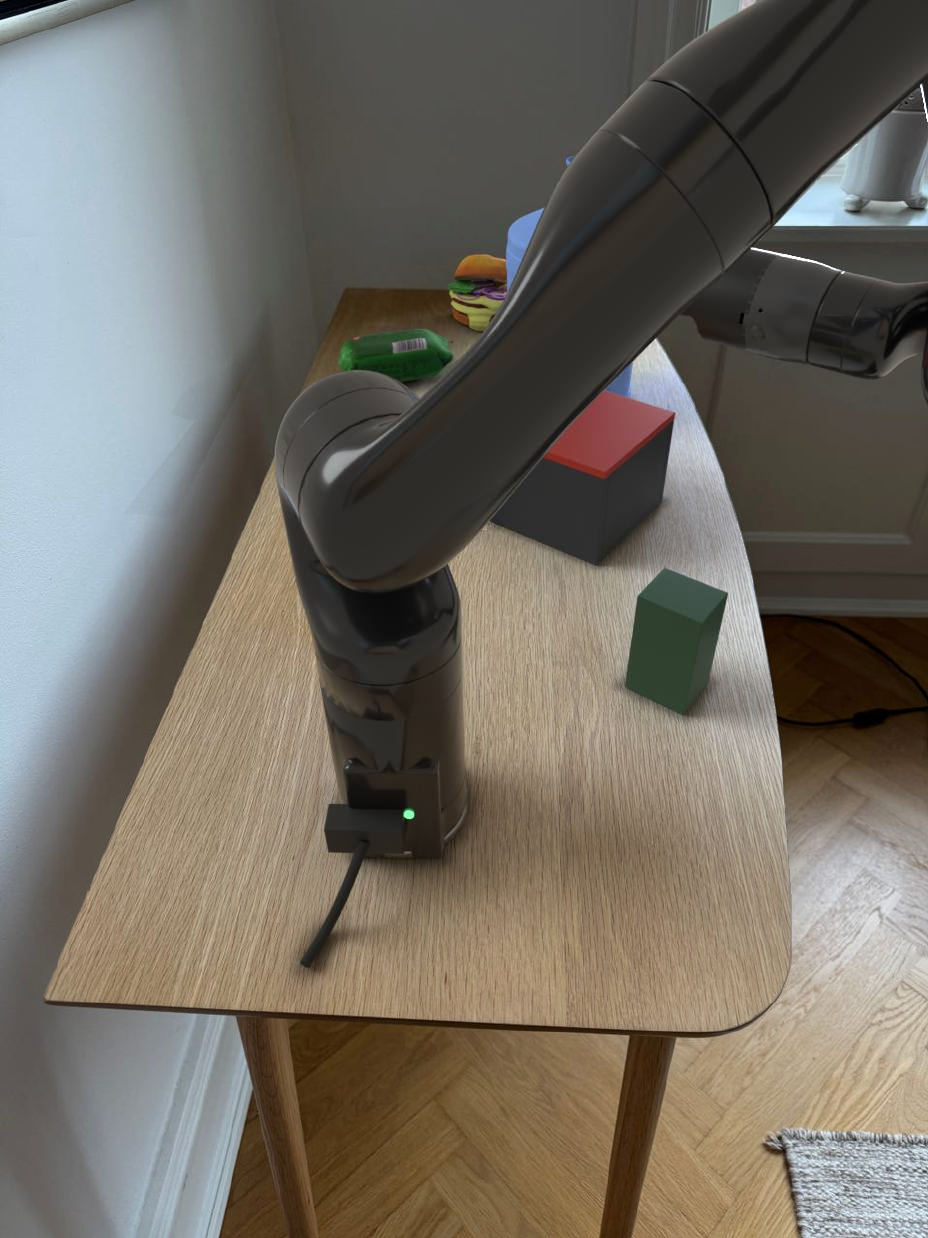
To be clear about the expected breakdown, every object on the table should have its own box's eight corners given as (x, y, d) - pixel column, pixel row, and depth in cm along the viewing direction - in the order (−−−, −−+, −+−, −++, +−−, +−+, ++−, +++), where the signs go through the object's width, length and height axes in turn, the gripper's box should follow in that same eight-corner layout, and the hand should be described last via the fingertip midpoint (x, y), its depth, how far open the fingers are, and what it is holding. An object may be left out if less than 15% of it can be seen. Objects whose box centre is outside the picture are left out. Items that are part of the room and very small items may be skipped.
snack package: (461, 380, 120) (460, 342, 116) (342, 395, 117) (338, 357, 113) (448, 357, 125) (447, 320, 122) (334, 372, 122) (330, 334, 119)
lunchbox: (453, 506, 98) (451, 424, 91) (525, 452, 106) (528, 373, 99) (596, 565, 89) (604, 480, 83) (662, 502, 98) (674, 419, 91)
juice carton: (683, 715, 74) (702, 623, 68) (624, 687, 77) (637, 595, 70) (708, 684, 77) (728, 592, 70) (650, 657, 80) (664, 566, 73)
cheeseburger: (442, 331, 131) (442, 256, 126) (455, 319, 140) (455, 249, 136) (512, 333, 129) (515, 258, 125) (521, 321, 139) (523, 250, 134)
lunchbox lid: (444, 421, 92) (444, 414, 91) (521, 371, 100) (521, 364, 99) (604, 479, 83) (605, 472, 82) (674, 419, 91) (675, 412, 90)
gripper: (813, 233, 73) (624, 195, 81) (744, 283, 66) (542, 235, 74) (792, 323, 78) (615, 279, 86) (725, 380, 70) (538, 325, 78)
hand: (582, 259), depth 80 cm, fingers closed
